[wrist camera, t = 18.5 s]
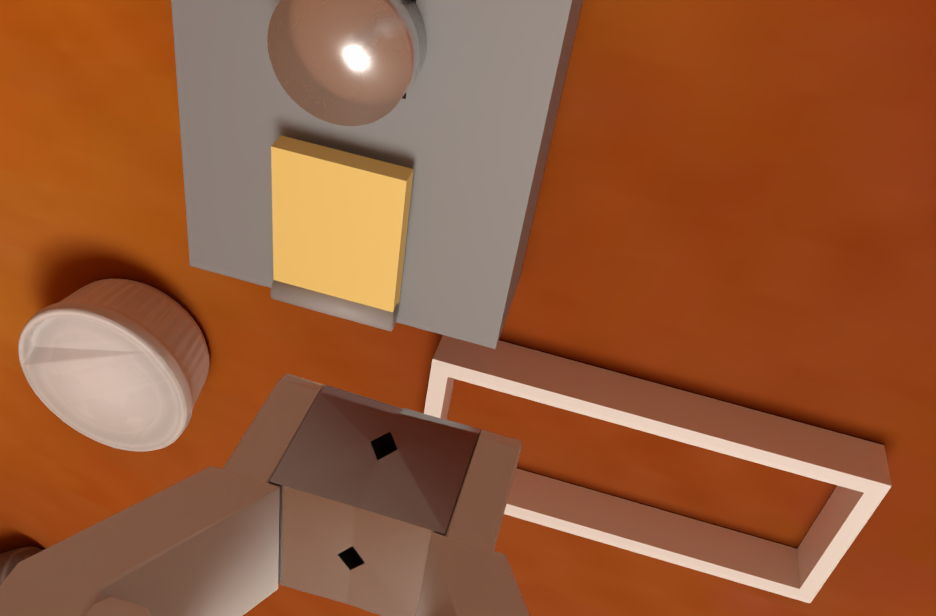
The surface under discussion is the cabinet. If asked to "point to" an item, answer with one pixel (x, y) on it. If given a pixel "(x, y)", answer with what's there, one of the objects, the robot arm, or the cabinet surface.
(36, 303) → the cabinet surface
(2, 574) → the pipe fitting
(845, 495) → the rectangular frame
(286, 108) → the hitch block
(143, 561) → the robot arm
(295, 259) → the yellow rectangular slab
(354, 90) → the steel peg
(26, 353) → the ramekin
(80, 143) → the cabinet surface
